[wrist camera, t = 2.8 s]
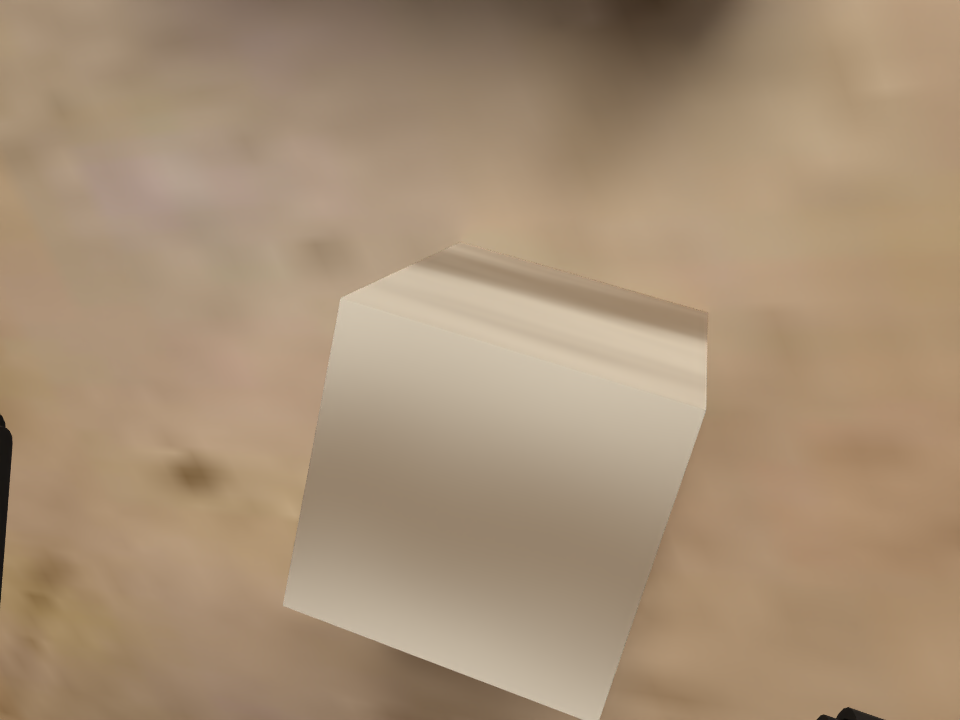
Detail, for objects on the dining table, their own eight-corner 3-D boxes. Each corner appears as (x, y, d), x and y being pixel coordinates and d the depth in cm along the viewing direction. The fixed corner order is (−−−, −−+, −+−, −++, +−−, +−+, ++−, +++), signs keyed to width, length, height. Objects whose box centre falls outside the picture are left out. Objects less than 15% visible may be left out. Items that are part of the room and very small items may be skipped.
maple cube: (461, 241, 17) (340, 297, 12) (707, 312, 16) (705, 409, 11) (410, 461, 19) (283, 605, 13) (632, 537, 18) (597, 725, 12)
